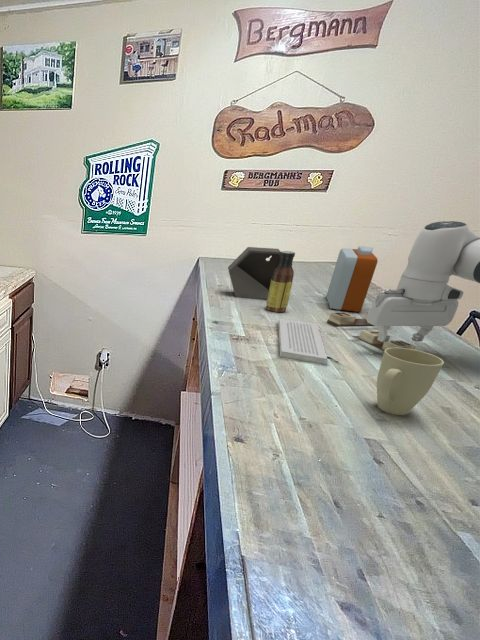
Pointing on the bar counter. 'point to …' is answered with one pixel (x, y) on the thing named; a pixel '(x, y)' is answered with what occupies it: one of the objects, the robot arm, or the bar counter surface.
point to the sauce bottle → (281, 283)
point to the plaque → (301, 341)
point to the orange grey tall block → (351, 279)
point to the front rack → (370, 338)
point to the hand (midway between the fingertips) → (399, 341)
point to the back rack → (346, 320)
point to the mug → (405, 378)
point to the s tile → (397, 344)
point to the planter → (254, 272)
